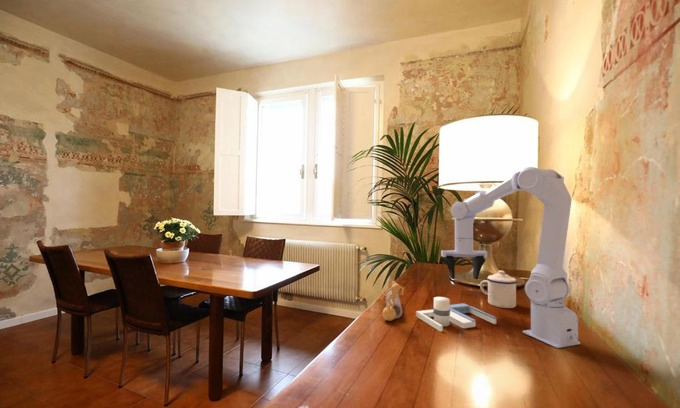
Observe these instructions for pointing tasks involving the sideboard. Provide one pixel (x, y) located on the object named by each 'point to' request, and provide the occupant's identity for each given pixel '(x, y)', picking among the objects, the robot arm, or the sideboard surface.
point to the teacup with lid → (501, 290)
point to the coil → (397, 305)
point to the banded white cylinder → (442, 310)
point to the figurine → (389, 311)
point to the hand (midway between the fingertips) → (464, 278)
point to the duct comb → (456, 316)
